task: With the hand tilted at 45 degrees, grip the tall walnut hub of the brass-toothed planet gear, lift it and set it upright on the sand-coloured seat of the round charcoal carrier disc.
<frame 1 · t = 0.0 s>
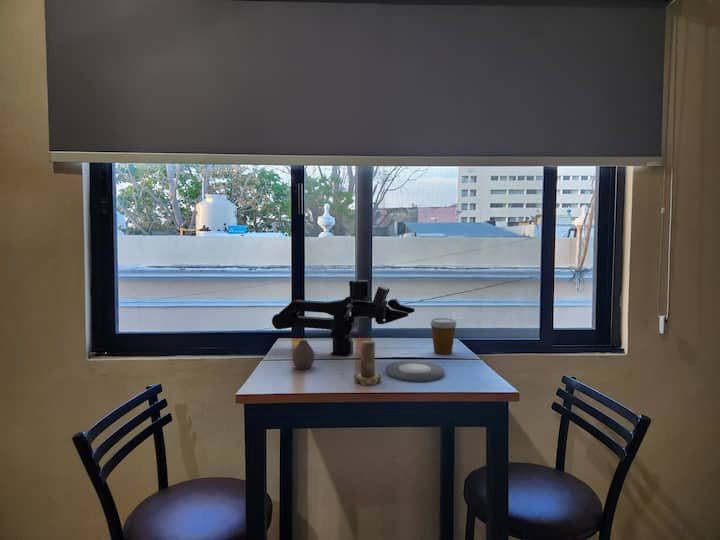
hand: (411, 312, 156), 17 cm above the table, tool horizontal, fingers open, 9 cm apart
carrier disc: (414, 372, 143), on the table
planet gear: (367, 381, 134), on the table
disposable coffee cup: (442, 353, 167), on the table
vase: (303, 368, 148), on the table
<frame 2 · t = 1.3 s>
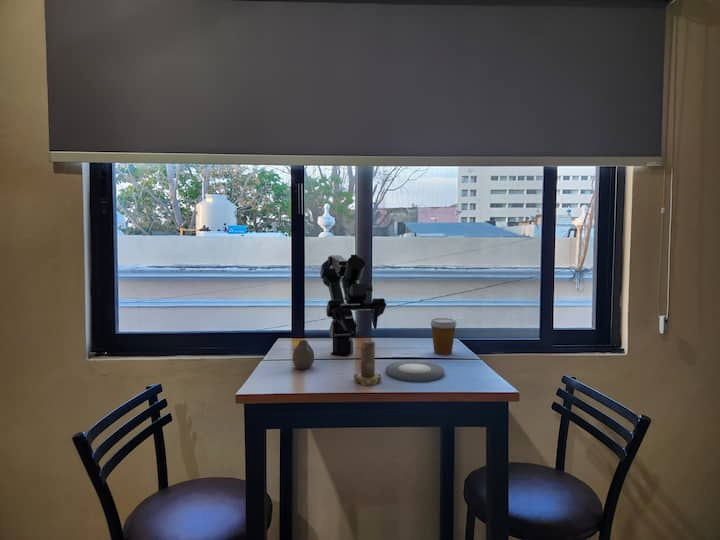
hand: (361, 329, 141), 14 cm above the table, tool tilted 45°, fingers open, 9 cm apart
nothing on the table moved.
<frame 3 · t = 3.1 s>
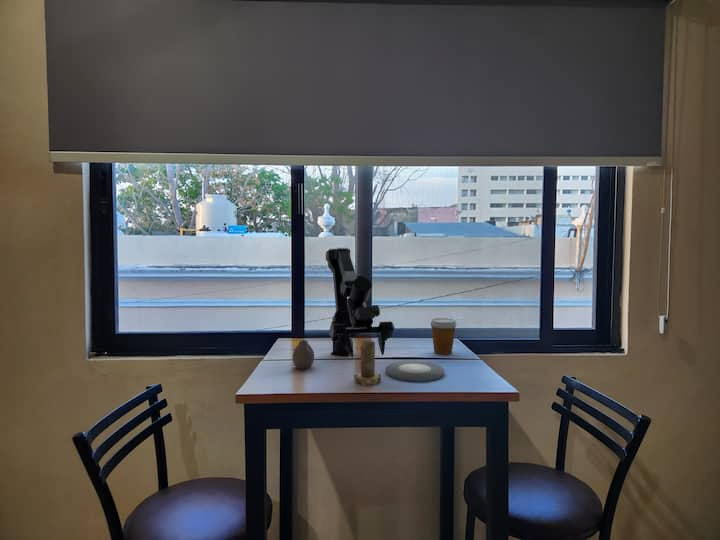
hand: (368, 355, 133), 8 cm above the table, tool tilted 45°, fingers open, 9 cm apart
nothing on the table moved.
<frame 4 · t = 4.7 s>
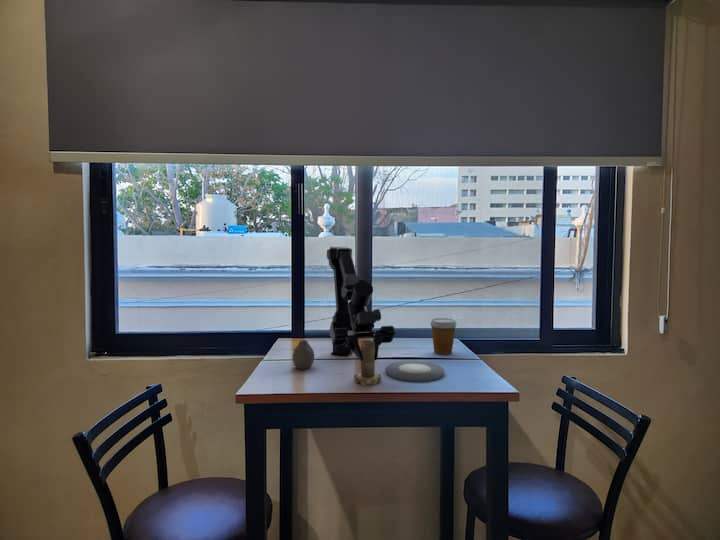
hand: (369, 360, 132), 7 cm above the table, tool tilted 45°, fingers closed on planet gear, 4 cm apart
planet gear: (367, 381, 134), on the table, touching gripper
everything else where it was.
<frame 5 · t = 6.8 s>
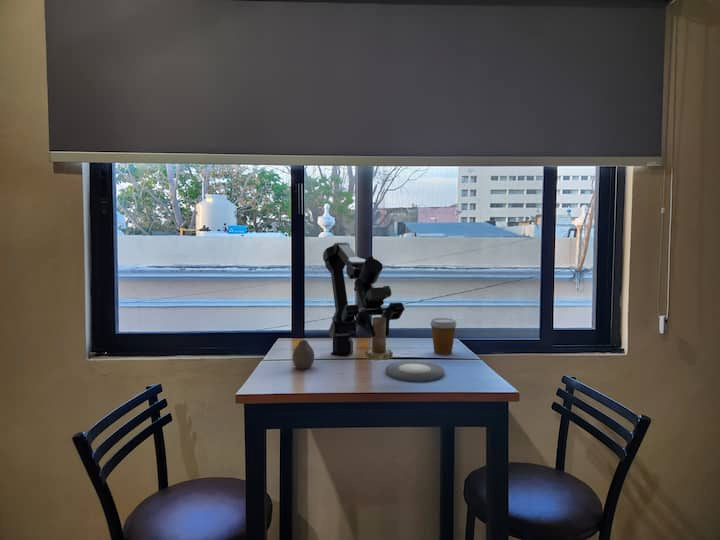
hand: (381, 335, 133), 13 cm above the table, tool tilted 45°, fingers closed on planet gear, 4 cm apart
planet gear: (378, 356, 135), point 7 cm above the table, touching gripper
everything else where it was.
when the fingers open (9 cm above the table, at t = 9.3 s): planet gear drops 1 cm, resting on carrier disc.
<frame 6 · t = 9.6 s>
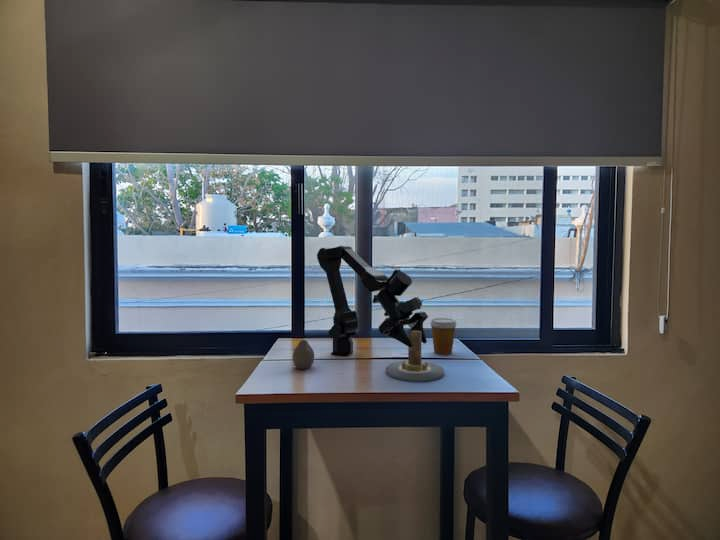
hand: (418, 344, 141), 9 cm above the table, tool tilted 45°, fingers open, 7 cm apart
planet gear: (414, 368, 142), point 1 cm above the table, touching carrier disc
everything else where it was.
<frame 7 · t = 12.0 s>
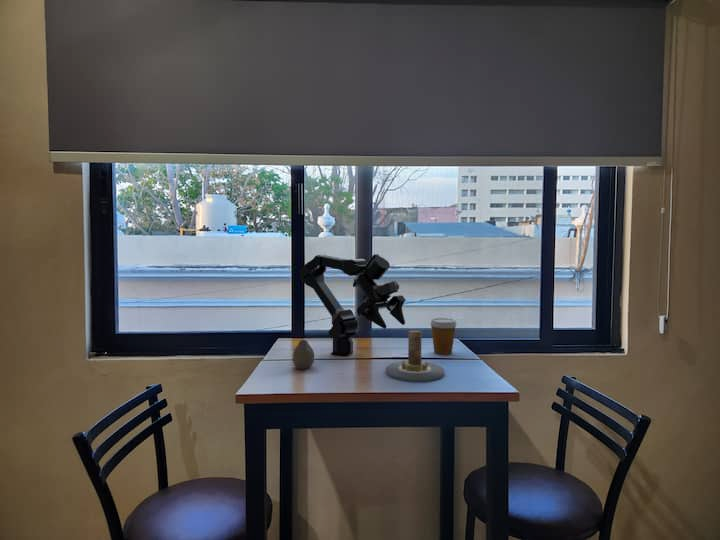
hand: (395, 326, 147), 14 cm above the table, tool tilted 45°, fingers open, 9 cm apart
nothing on the table moved.
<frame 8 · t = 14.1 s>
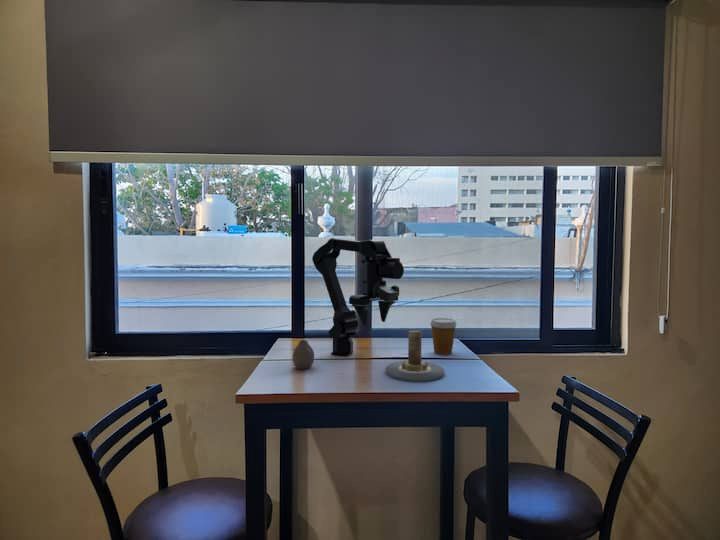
hand: (374, 323, 154), 13 cm above the table, tool pointing down, fingers open, 9 cm apart
nothing on the table moved.
at the end: planet gear inside the target area on the carrier disc (0.0 cm from its centre), point 1.4 cm above the carrier disc's base; planet gear tilted 0°; the gripper is holding nothing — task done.
